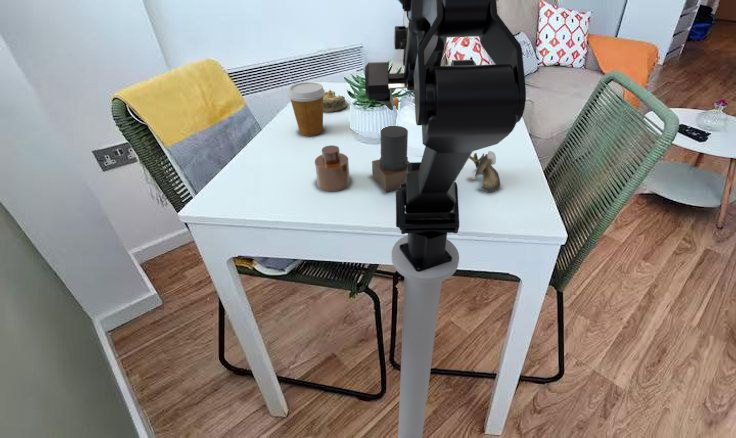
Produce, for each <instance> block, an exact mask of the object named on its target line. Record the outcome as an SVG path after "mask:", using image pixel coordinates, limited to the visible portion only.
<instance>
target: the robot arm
mask: <svg viewBox="0 0 736 438" xmlns="http://www.w3.org/2000/svg"><path fill="white" fill-rule="evenodd" d="M397 2H399V3H400V4H401V8H402V11H403V12H406V18H407V20H408V24H407V25H408V26H406V25H396V26H394V34H393V35H394V37H393V39H394V40H393V44H394V50H396V51H397V50H403V55H402V66H403V67H404V68H403V72H398V73H397V72H396V73H395V72H394V73H393V72H392V73H390V70H389V62H388V61H377V62H375V61H374V62H370V61H369V62H367V63H366V64H365V66H364V87H365V92H364V94H365V99H367V100H368V101H374V103H375V102H376V103H380V104H381V103H382V104H384V105H386V106H387V107H388V108H389V109H390V110H393V97H394V96H393V93H392V92H393V91H392V90H393V89H394V90H396V89H406V91H414V116H415V125H416V126H421V137H422V145H423V146H424V151H423V154H422V157H421V161H420V162H418V161H417V162H415V161H412V162H410V163H409V164H408V165H407V171H406V175H405V178H404V183H400V187H399V189H398V190H396V192H395V227H396V228H398V229H399V231H401V232H400V234H401V235H405V234H407V235H408V243H405V244H401V245H400V246H399V249H400V250H401V251H402V253H403V254H404V255H405V257H406V258H407V260H408V261H409V262H410V264H411V265H412V266H413V268H414V269H415V270H416V271H417V272H421V271H423V270H426V269H429V268H432V267H435V266H438V265H441V264H444V263H447V262H450V261H452V256H451V255H450V254H449V253H448V252H447V251H446V250H445V247H446V239H447V240H448V234H458V232H459V229H460V210H459V209H460V208H459V190H458V184H457V182H456V180H457V178H458V177H459V175H460V174H461V172H462V170H463V169H464V167H465V165H466V163H467V162H468V161H469V160H470V159H469V157H470V156H472V154H473V152H476V151H478V150H479V151H480V150H483V149H485V148H489V147H492V146H496V145H498V144H499V143H500V142H502V141H503V140H504V139H506V138H507V137H508V136H510V134H511V133H512V132H513V131H514V129H515V127H516V125H517V124H518V123H519V122H520V121H521V119H522V118H523V116H524V112H525V109H526V108H525V107H526V103H527V102H526V101H527V86H526V77H525V67H524V59H523V58H524V57H523V56H524V55H523V48H522V45H521V43H520V42H519V41H518V39H517V38H516V37H515V35H514V34H513V33H512V31H511V30H510V28H509V27H508V26H507V25H506V24H505V22H504V20H503V19H502V18H501V17H500V15H499V14H498V5H497V4H498V3H497V0H397ZM469 37H471V38H472V37H473V38H474V37H479V43H480V45H481V47H482V48H483V50H484V51H485V52H486V54H487V55H488V56H489V58H490V59H491V60H492V63H494V64H477V62H475V61H474V60H473V59H452V60H451V63H450V65H442V62H443V57H444V52H445V48H446V44H447V40H448V38H469ZM449 258H450V259H449ZM418 268H419V269H418Z"/></svg>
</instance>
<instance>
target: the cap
mask: <svg viewBox="0 0 736 438" xmlns="http://www.w3.org/2000/svg"><path fill="white" fill-rule="evenodd" d="M408 139H409V131H408V129H407V128H406V127H404V126H400V125H397V126H388V127H385V128H383V129H382V130H381V129H380V157H379V159H380V166H381V167H382V168H383V169H384V170H389V171H399V170H403V169H405V167H406V166H407V164H408V161H409V157H408Z"/></svg>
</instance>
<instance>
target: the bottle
mask: <svg viewBox="0 0 736 438" xmlns="http://www.w3.org/2000/svg"><path fill="white" fill-rule="evenodd" d="M314 167H315V168H314V169H315V176H316V182H317V187H318V188H319V189H320V190H323V191H325V192H338V191H342V190H344V189H346V188H347V187H349V185H350V184H351V183H350V182H351V177H350V165H349V157H348V156H347V155H346V154H344V153H341V152H340V147H339V146H337V145H334V144H333V145H325V146H324V147H321V154H320V155H317V157H316V158H315V159H314Z"/></svg>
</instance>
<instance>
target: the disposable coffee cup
mask: <svg viewBox="0 0 736 438" xmlns="http://www.w3.org/2000/svg"><path fill="white" fill-rule="evenodd" d="M325 92H326V90H325V89H324V87H323V85H322V84H321V83H319V82H315V81H313V82H312V81H305V82H298V83H294V84H292V85H290V86H289V88H288V92H287V97H288V98H289V100H290V103H291V107H292V110H293V113H294V116H295V120H296V124H297V127H298V131H299V134H300V135H302V136H305V137H315V136H318V135H321V134H322V132H324V112H323V96H324V93H325Z"/></svg>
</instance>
